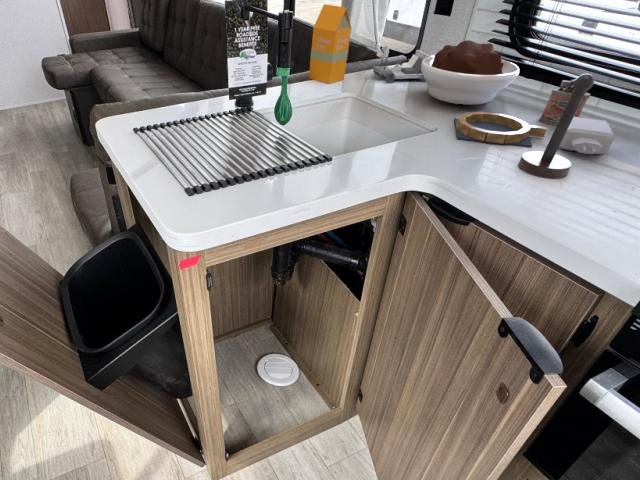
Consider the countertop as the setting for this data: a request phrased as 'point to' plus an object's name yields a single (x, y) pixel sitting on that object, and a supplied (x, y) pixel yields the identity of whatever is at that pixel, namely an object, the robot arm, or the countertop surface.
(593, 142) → the charger
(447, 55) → the white bowl of dough
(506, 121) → the ring
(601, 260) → the countertop surface
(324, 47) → the orange juice
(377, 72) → the toy car
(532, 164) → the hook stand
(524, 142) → the mat
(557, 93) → the lighter
